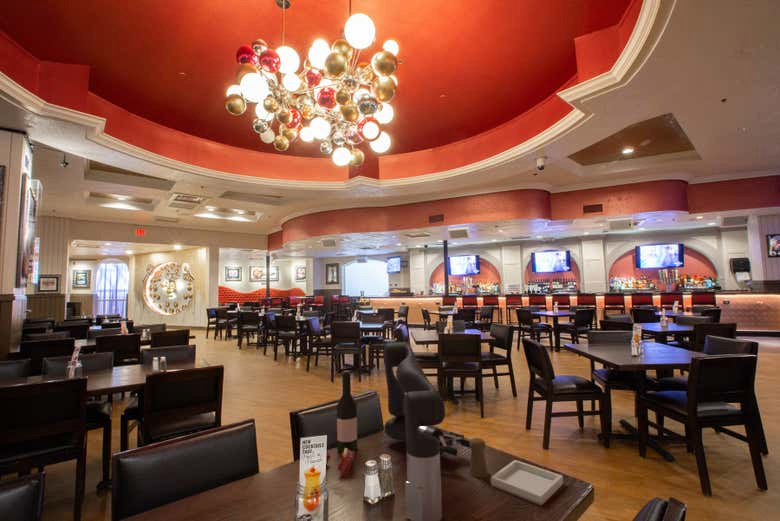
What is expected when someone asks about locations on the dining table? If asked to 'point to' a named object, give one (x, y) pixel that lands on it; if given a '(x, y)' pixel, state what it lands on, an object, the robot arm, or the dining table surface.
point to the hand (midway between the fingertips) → (463, 448)
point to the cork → (478, 458)
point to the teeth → (344, 462)
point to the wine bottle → (346, 417)
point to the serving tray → (527, 482)
